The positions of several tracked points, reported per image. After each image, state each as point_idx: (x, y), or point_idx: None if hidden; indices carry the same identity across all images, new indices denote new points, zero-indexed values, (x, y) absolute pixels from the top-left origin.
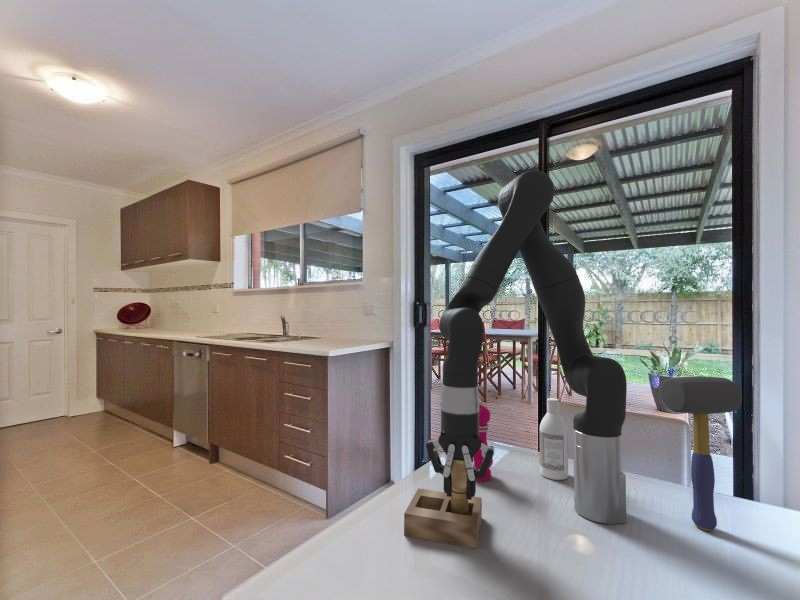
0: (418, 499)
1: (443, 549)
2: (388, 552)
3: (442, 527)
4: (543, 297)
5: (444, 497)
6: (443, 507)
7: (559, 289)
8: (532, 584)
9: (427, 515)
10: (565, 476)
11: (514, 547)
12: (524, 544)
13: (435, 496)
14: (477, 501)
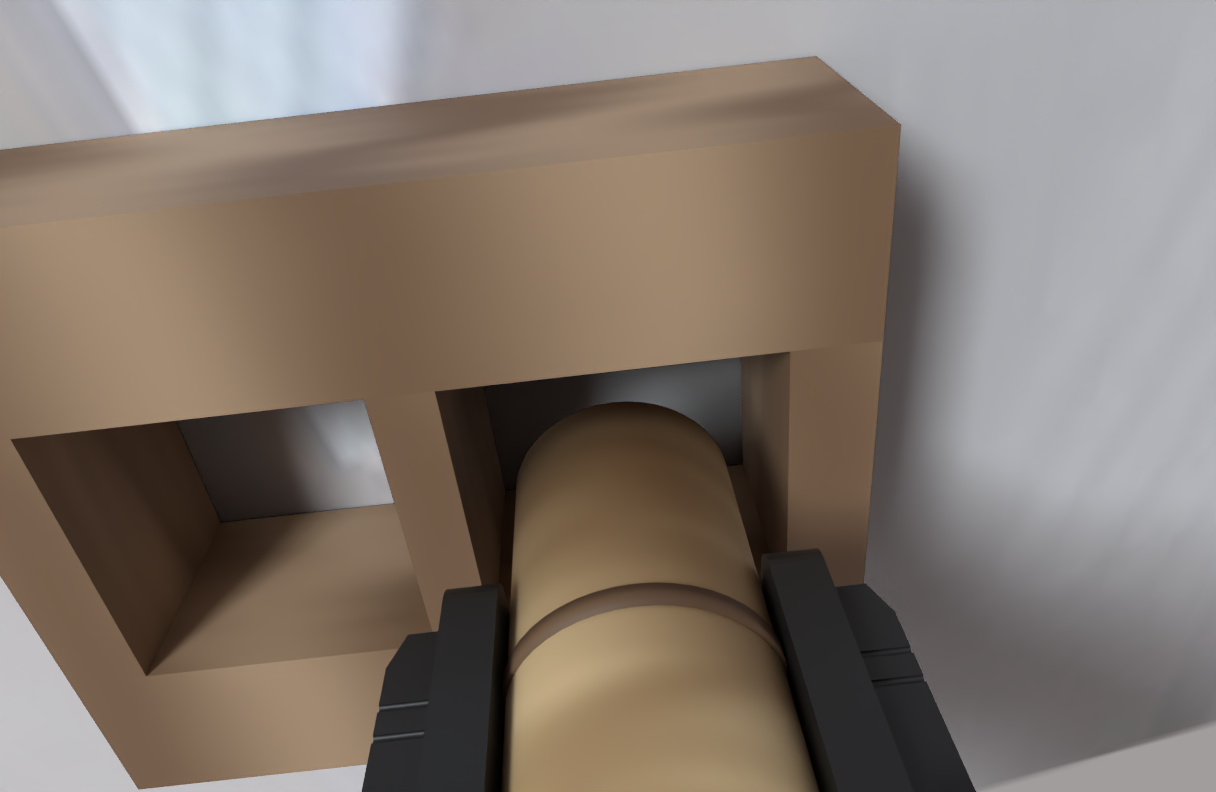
0: (65, 539)
1: None
2: (240, 785)
3: None
4: None
5: (344, 359)
6: (443, 575)
7: None
8: (1134, 704)
9: (360, 745)
10: None
11: (1106, 442)
12: (1209, 373)
13: (212, 383)
14: (838, 281)
